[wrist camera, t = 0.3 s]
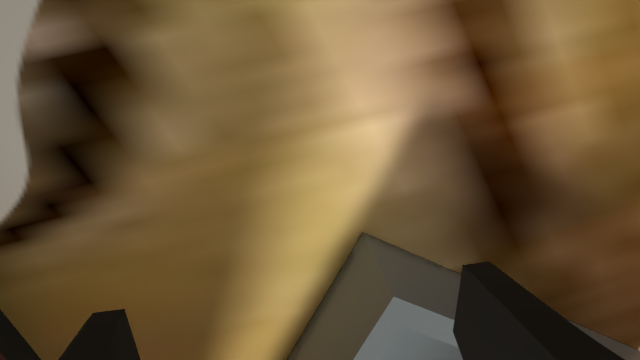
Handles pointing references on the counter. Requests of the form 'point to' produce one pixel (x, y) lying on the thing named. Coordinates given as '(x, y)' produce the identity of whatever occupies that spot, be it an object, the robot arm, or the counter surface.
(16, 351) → the cleaning product box
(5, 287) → the counter surface
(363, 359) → the grey tote
